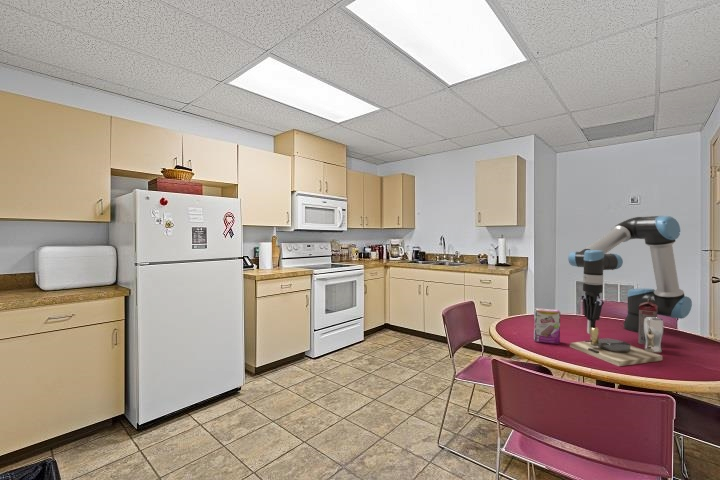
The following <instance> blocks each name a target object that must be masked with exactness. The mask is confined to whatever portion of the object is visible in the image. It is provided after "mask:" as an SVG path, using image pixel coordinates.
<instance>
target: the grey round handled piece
mask: <svg viewBox="0 0 720 480" xmlns="http://www.w3.org/2000/svg"><path fill="white" fill-rule="evenodd" d="M599 332H600V329H599V327H596V326H595V328H592V327H591V334H590V340H584V341H585V342H591V345H593V346H598V347H600V348H602V349H604V350H608V351H612V352H620V353H627V352H630V345H631V344H630V343H628V342H626V341H624V340H619V339H615V338H599V334H600V333H599Z"/></svg>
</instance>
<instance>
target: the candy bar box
mask: <svg viewBox="0 0 720 480" xmlns="http://www.w3.org/2000/svg"><path fill="white" fill-rule="evenodd" d="M533 310H534V311H533V313H534V316H533V340H534V342H535V343H543V344H552V345H554V344H555V345H560V344H561V343H560V340H561V311H560V310H559V309H549V308H548V309H547V308H537V307H534V309H533Z"/></svg>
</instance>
